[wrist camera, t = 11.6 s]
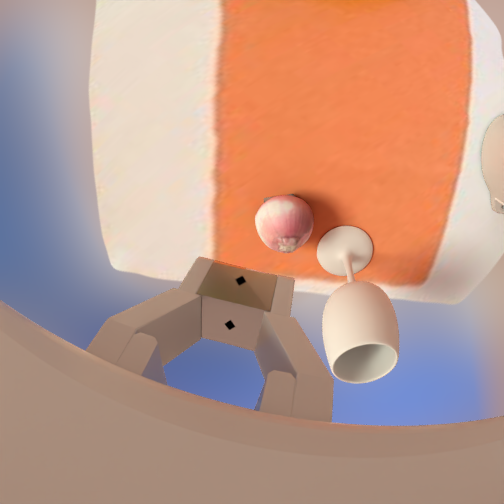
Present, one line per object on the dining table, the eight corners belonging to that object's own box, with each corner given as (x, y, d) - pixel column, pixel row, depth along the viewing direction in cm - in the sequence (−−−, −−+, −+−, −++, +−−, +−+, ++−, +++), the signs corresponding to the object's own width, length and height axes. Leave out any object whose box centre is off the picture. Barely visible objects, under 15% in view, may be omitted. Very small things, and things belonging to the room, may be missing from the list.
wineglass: (337, 283, 44) (347, 397, 26) (305, 246, 42) (301, 360, 24) (382, 256, 40) (420, 365, 22) (353, 213, 38) (388, 318, 20)
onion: (297, 239, 42) (281, 272, 38) (255, 209, 42) (234, 238, 37) (329, 208, 36) (317, 241, 32) (282, 172, 36) (262, 200, 31)
